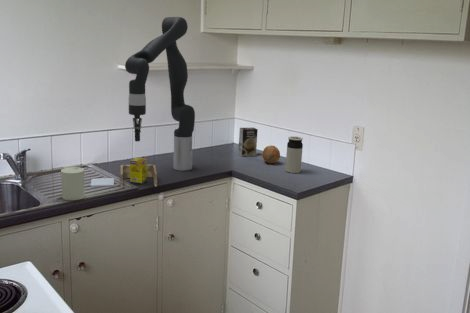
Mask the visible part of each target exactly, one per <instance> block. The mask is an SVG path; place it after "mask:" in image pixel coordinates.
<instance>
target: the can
mask: <svg viewBox="0 0 470 313" xmlns="http://www.w3.org/2000/svg"><path fill="white" fill-rule="evenodd" d="M60 176H61V199H62V200H64V201H65V200H66V201H77V200H79V201H80V200H82V199H85V197H86V192H85V189H86V188H85V168H83V167H79V166H70V167H68V166H67V167H64V168H62V169H61V170H60Z"/></svg>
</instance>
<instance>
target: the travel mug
mask: <svg viewBox="0 0 470 313" xmlns="http://www.w3.org/2000/svg"><path fill="white" fill-rule="evenodd" d="M303 140H304V138H303V137H301V136H288V142H287V146H286V159H285V172H287V173H289V172H290V174H299V173H301V170H302V161H303V160H302V157H303V148H304V144H303Z"/></svg>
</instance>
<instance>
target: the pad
mask: <svg viewBox="0 0 470 313" xmlns="http://www.w3.org/2000/svg"><path fill="white" fill-rule="evenodd" d="M114 186H115V178H113V177H112V178H111V177H110V178H107V177H105V178H91V181H90V188H92V187H93V188H94V187H95V188H96V187H114Z"/></svg>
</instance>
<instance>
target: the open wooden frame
mask: <svg viewBox="0 0 470 313" xmlns="http://www.w3.org/2000/svg"><path fill="white" fill-rule="evenodd" d="M127 178H128V179H130V164H120V188H124V179H127ZM147 178H152V179H153V184H154V187H158V173H157V168H156V165H155V164H147Z"/></svg>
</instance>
